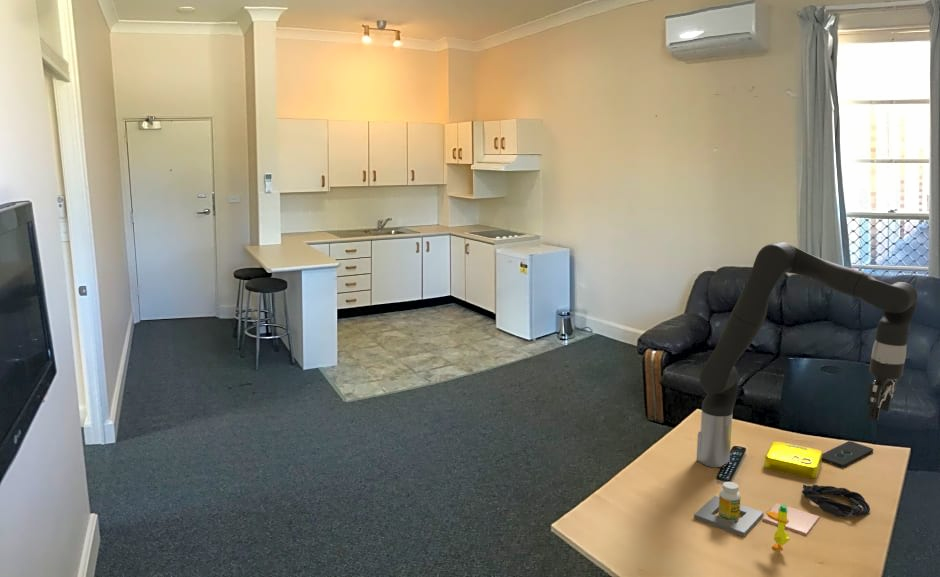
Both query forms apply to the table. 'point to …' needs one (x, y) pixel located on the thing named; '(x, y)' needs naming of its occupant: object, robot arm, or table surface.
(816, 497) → the cable
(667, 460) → the table surface
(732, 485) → the supplement bottle
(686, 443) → the table surface
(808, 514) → the terracotta tile
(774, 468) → the element tile
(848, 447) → the smart home device
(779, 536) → the toy figure
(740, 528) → the socket block
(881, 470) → the table surface
